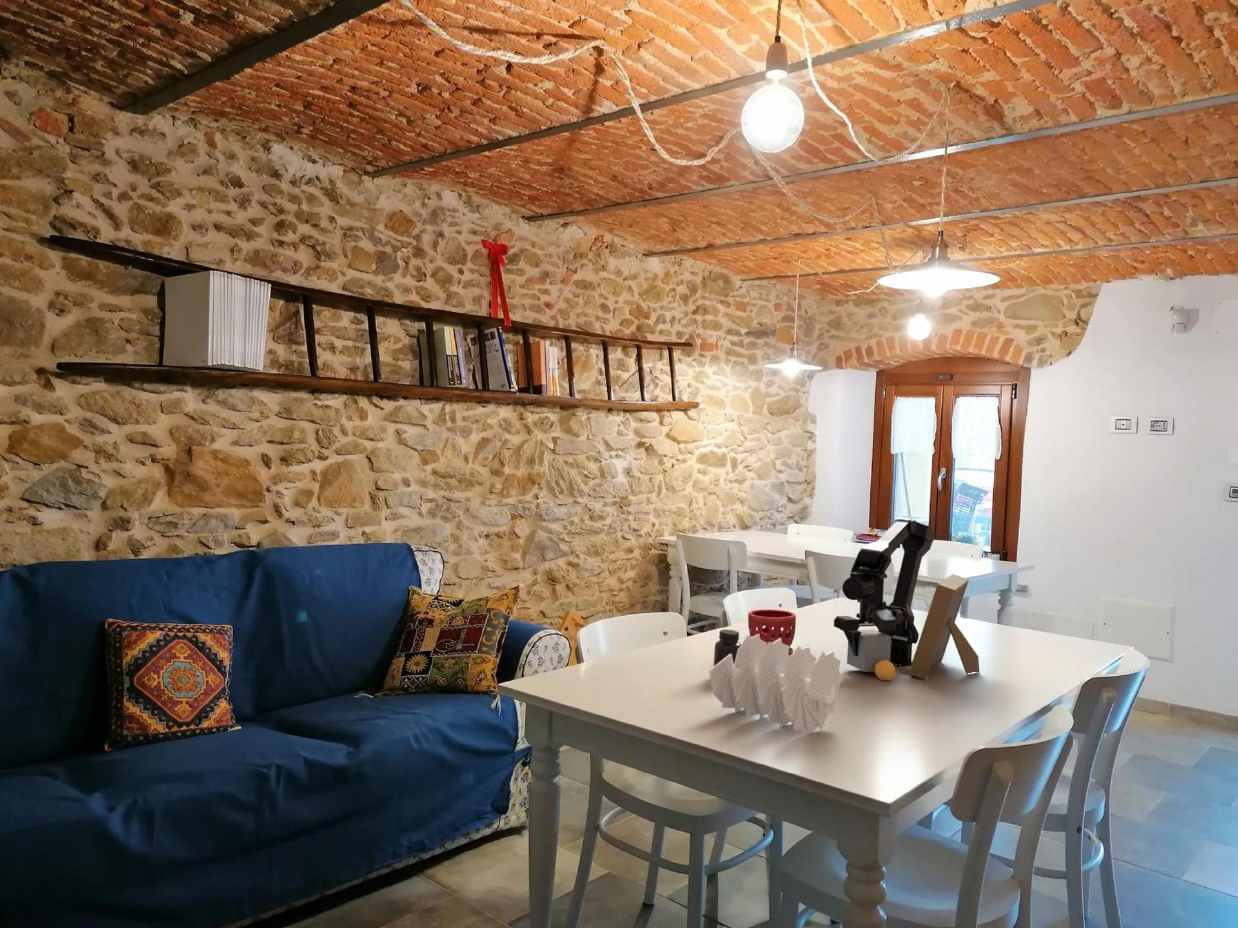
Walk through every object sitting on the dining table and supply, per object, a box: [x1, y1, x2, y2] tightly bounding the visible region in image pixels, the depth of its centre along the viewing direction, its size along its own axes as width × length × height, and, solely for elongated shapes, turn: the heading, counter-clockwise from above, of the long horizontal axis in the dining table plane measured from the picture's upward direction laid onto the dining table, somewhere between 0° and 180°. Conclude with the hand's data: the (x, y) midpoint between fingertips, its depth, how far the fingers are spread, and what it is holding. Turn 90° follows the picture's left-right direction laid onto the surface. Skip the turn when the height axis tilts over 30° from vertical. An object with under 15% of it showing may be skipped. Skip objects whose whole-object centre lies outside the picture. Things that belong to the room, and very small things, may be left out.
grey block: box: [846, 629, 891, 672], centre depth 222 cm, size 8×8×9 cm
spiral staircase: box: [708, 634, 843, 736], centre depth 180 cm, size 18×18×25 cm
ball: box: [874, 660, 896, 681], centre depth 216 cm, size 5×5×5 cm
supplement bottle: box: [712, 629, 742, 668], centre depth 211 cm, size 7×7×12 cm
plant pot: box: [747, 609, 797, 657], centre depth 236 cm, size 13×13×12 cm
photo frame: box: [908, 573, 980, 680], centre depth 224 cm, size 15×22×25 cm
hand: (868, 655), depth 222 cm, fingers closed on grey block, 8 cm apart
